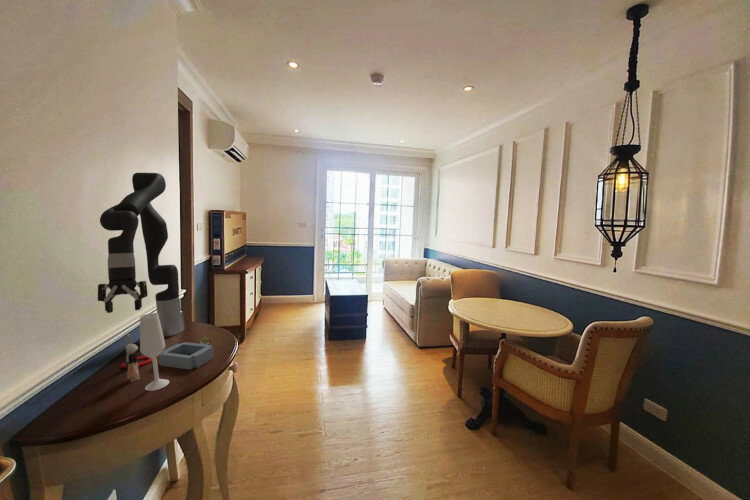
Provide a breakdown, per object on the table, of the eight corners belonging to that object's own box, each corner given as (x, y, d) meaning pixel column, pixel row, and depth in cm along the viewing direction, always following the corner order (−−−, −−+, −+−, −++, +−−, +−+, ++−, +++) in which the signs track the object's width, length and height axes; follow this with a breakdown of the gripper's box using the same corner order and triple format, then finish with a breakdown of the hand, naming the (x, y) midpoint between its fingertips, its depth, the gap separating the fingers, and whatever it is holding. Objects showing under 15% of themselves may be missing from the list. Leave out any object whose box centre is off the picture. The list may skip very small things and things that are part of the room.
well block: (182, 352, 125) (181, 341, 124) (216, 356, 120) (215, 345, 120) (157, 365, 114) (156, 353, 114) (193, 370, 110) (192, 358, 109)
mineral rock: (192, 338, 133) (211, 332, 135) (196, 347, 134) (214, 340, 136) (183, 350, 123) (203, 342, 124) (187, 359, 124) (207, 351, 125)
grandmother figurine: (126, 377, 106) (121, 342, 104) (140, 372, 109) (135, 339, 107) (129, 385, 101) (124, 349, 99) (143, 381, 103) (139, 345, 102)
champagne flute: (139, 390, 98) (130, 318, 95) (157, 378, 104) (149, 312, 101) (157, 391, 97) (149, 319, 94) (174, 379, 103) (166, 312, 100)
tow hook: (141, 357, 122) (118, 368, 113) (138, 326, 121) (115, 334, 112) (159, 358, 120) (137, 369, 111) (157, 327, 119) (135, 335, 110)
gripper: (149, 264, 114) (151, 307, 113) (105, 267, 110) (107, 311, 110) (139, 265, 106) (141, 311, 106) (91, 267, 103) (93, 315, 103)
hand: (123, 311), depth 108 cm, fingers open, 8 cm apart
